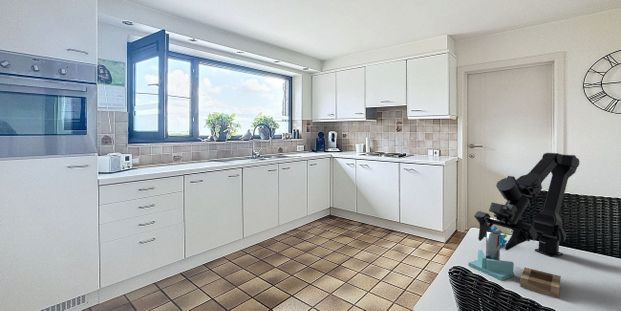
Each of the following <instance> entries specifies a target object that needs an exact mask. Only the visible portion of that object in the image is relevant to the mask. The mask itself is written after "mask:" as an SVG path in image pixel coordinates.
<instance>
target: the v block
mask: <svg viewBox="0 0 621 311" xmlns="http://www.w3.org/2000/svg"><path fill="white" fill-rule="evenodd" d="M467 266H468V267H470V268H473V269H475V270H477V271H479V272H482V273H484V274H486V275H488V276H490V277H493V278H495V279H497V280H499V281H503V280H508V279H510V278H512V277H515V272H514V268H515V264H514V261H509V260H494V259H486V254H485V253H484V252H483V250H481V249H478V252H477V259H476V260H473V261H468V265H467Z"/></svg>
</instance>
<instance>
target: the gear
mask: <svg viewBox="0 0 621 311" xmlns="http://www.w3.org/2000/svg"><path fill="white" fill-rule="evenodd" d="M497 227H498V226H496V225H495V226H493V225H492V226H491V227H490V228H491V230H492V231H497V232H500V249H501V248H503V247H504V248H505V246H506V244H507V242H508V240H507V239H506V237H508V235H507V234H506V233H505V234H502V233H503V231H502V230H501V229H498V228H497ZM497 229H498V230H497ZM484 238H486V236H485V237H484Z"/></svg>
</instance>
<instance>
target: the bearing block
mask: <svg viewBox="0 0 621 311" xmlns="http://www.w3.org/2000/svg"><path fill="white" fill-rule="evenodd" d="M561 278H562V277H561V275H557V274H554V273H553V274H552V273H549V272H546V271H540V270H537V269H533V268H529V267H525V266H524V268H523V271H522V273H521V276H520V282H519V288H522V289H526V290H530V291H533V292H535V293H536V292H538V293H539V294H540V293H541V294H544V295H548V296H550V297H554V298H558V299H559V297H560V289H561V280H562V279H561Z"/></svg>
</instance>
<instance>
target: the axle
mask: <svg viewBox="0 0 621 311" xmlns="http://www.w3.org/2000/svg"><path fill="white" fill-rule="evenodd" d="M497 231H498V230H496V231H492V230H488V231H486V237H485V239H486V240H485V257H486V259H494V260H500V257H501V253H500V252H501V248H500V232H497Z"/></svg>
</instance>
